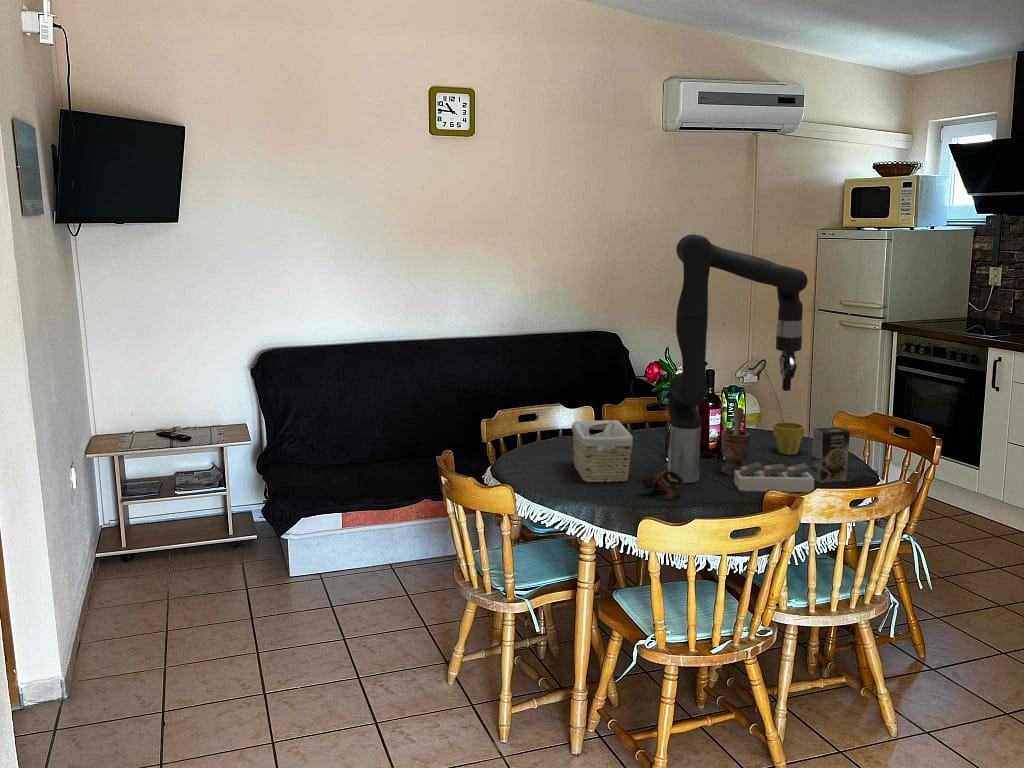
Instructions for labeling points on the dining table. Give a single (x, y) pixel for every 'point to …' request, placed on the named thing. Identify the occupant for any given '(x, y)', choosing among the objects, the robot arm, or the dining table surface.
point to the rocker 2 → (774, 469)
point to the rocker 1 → (750, 468)
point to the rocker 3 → (797, 469)
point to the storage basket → (601, 450)
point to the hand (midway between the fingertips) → (786, 390)
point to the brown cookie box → (830, 454)
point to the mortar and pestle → (734, 444)
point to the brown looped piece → (663, 483)
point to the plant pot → (788, 437)
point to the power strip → (774, 482)
